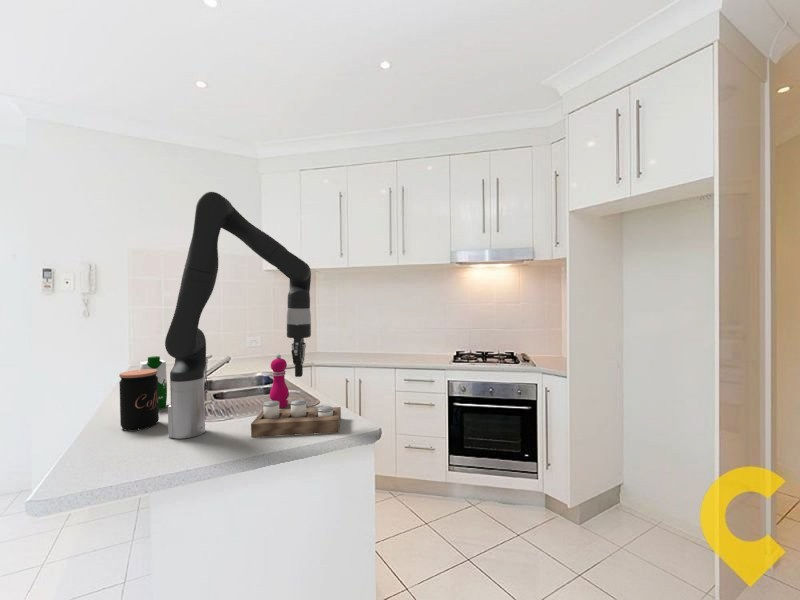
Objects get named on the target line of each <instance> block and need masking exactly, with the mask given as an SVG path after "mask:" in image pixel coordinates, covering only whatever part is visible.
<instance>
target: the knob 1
mask: <svg viewBox="0 0 800 600" xmlns="http://www.w3.org/2000/svg"><path fill="white" fill-rule="evenodd" d="M262 408H263V410H262V411H264V419H279V410H280V408H279V401H272V400H269V401H267V400H266V401H265V402H263V407H262Z"/></svg>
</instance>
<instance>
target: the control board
mask: <svg viewBox="0 0 800 600" xmlns="http://www.w3.org/2000/svg"><path fill="white" fill-rule="evenodd" d="M318 408H319V407H315V408H314V407H313V408H309V407H308V408H306V417H300V418H291V408H289V409H279V419H264V410H262V411H261V412H260V413H259V414H258V415H257V416H256V418H255V419H253V421H251V423H250V436H251V438H259V437H261V438H262V436H264V437H277V436H276V435H283V436H296V435H295V434H302V435H315V434H314V433H321V434H336V433H338V432H339V431H340V428H341V426H340V425H341V420H342V413H341V412H342V411H341V409H342V408H341V406H335V407H334V406H333V416H321V417H318ZM338 434H339V433H338Z"/></svg>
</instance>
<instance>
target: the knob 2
mask: <svg viewBox="0 0 800 600" xmlns="http://www.w3.org/2000/svg"><path fill="white" fill-rule="evenodd" d="M333 407H334V406H333ZM333 407H332V406H328V405H327V406H325V405H324V406H320V407H317V408H318V417H321V416H333Z"/></svg>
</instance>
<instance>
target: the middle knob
mask: <svg viewBox="0 0 800 600" xmlns="http://www.w3.org/2000/svg"><path fill="white" fill-rule="evenodd" d="M290 409H291V418H300V417H306V409H307V400H306V399H294V400H292V401H290Z"/></svg>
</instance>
